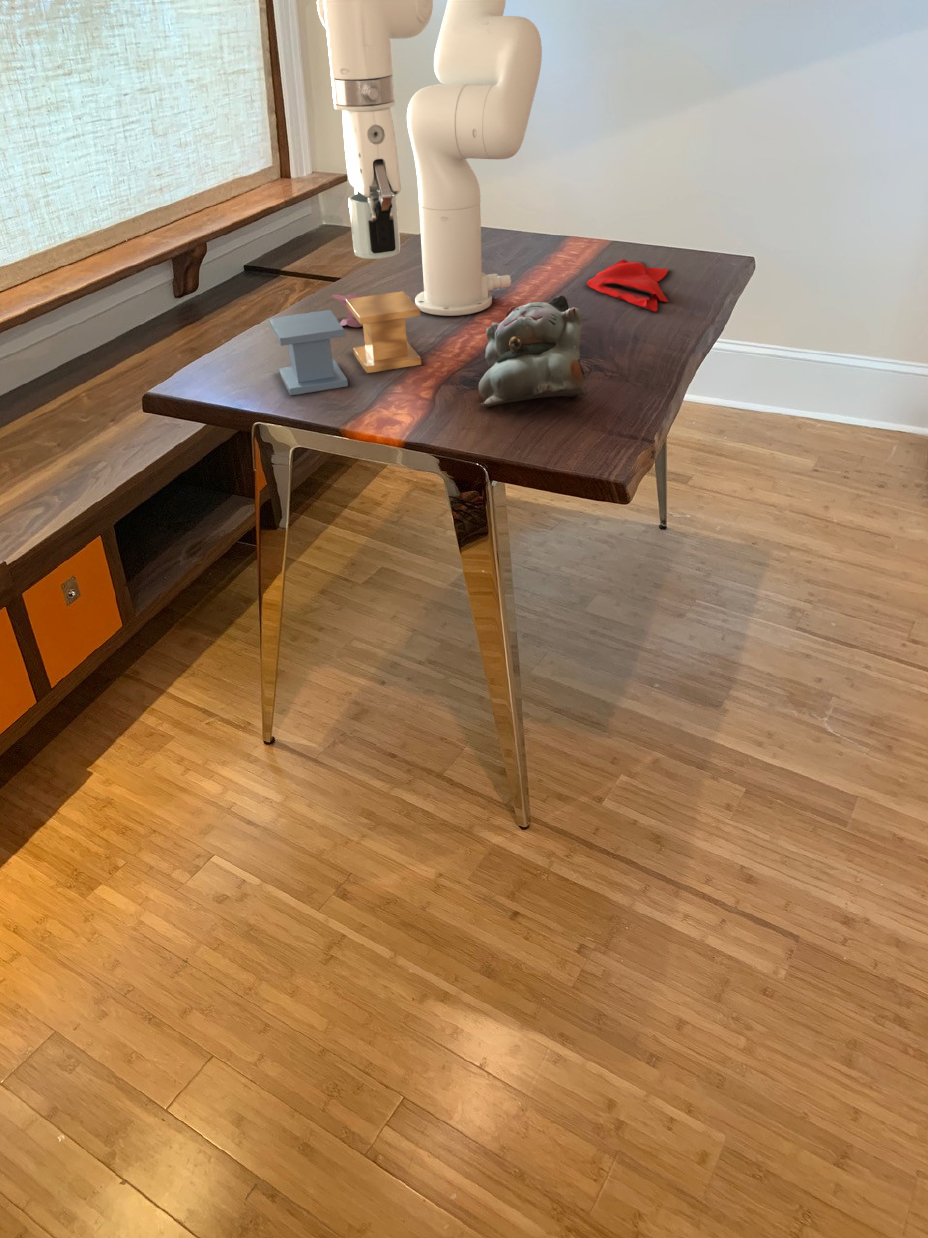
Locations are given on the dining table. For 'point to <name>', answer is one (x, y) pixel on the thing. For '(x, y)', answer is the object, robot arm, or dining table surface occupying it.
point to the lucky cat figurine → (534, 354)
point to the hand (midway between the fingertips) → (376, 243)
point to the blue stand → (309, 351)
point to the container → (361, 226)
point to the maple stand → (384, 331)
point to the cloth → (631, 283)
